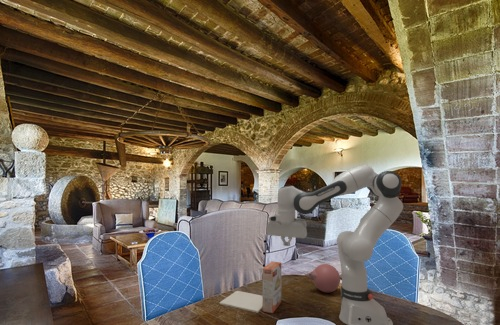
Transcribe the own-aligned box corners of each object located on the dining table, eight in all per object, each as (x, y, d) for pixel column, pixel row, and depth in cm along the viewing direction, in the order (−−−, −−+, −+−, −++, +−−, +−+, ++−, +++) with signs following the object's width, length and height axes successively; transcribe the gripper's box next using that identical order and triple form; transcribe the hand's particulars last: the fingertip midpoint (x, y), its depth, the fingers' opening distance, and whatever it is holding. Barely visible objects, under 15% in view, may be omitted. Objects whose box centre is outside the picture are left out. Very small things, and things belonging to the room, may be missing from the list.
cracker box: (273, 314, 133) (273, 269, 135) (262, 312, 136) (261, 268, 137) (282, 302, 146) (281, 262, 148) (271, 300, 149) (271, 260, 150)
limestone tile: (272, 299, 151) (272, 297, 151) (257, 312, 135) (257, 311, 135) (236, 292, 161) (236, 290, 161) (219, 304, 145) (219, 302, 145)
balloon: (303, 286, 170) (303, 260, 171) (337, 287, 168) (336, 261, 169) (306, 296, 154) (306, 267, 156) (343, 297, 153) (342, 268, 154)
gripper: (308, 218, 139) (308, 246, 138) (270, 216, 148) (270, 242, 147) (304, 219, 133) (305, 249, 132) (265, 217, 142) (265, 244, 141)
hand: (286, 245), depth 140 cm, fingers closed
